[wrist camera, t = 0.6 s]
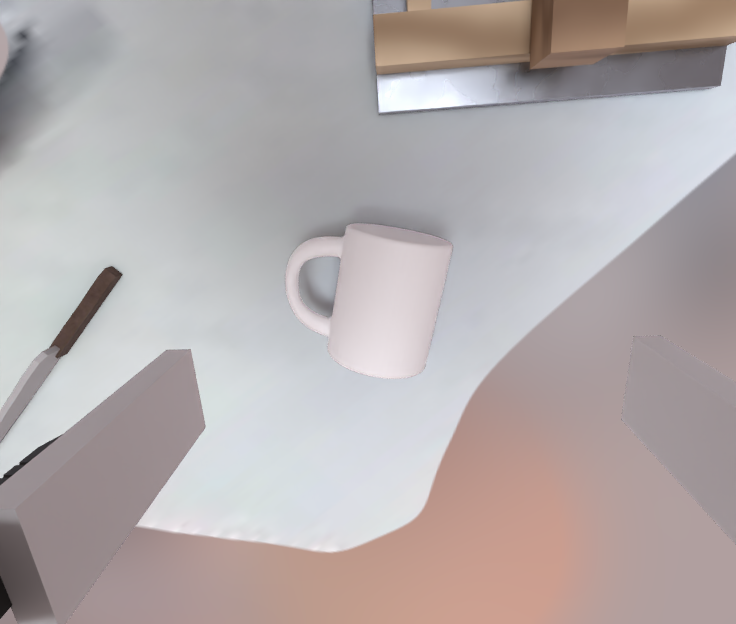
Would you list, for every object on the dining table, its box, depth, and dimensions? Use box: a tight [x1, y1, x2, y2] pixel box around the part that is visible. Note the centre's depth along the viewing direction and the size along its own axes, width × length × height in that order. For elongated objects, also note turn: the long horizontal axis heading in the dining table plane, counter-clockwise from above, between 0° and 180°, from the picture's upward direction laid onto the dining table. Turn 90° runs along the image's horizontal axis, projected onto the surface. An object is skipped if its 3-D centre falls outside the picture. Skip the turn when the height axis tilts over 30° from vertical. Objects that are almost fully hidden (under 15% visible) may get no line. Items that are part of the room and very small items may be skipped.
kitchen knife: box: [0, 266, 123, 442], centre depth 41 cm, size 4×1×30 cm
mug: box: [285, 223, 453, 379], centre depth 34 cm, size 12×10×8 cm
